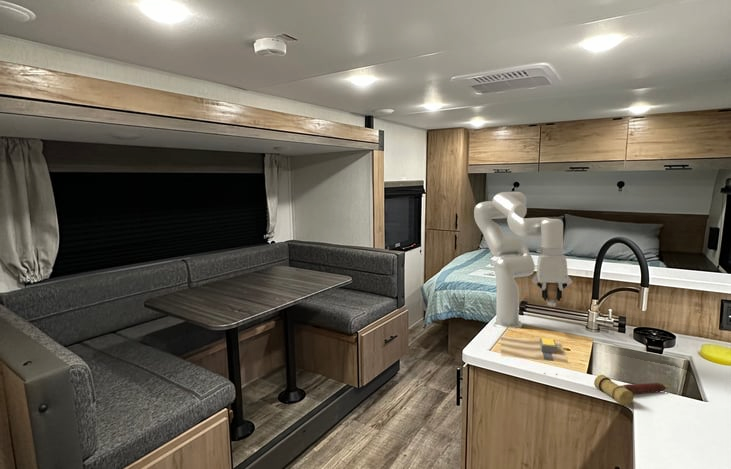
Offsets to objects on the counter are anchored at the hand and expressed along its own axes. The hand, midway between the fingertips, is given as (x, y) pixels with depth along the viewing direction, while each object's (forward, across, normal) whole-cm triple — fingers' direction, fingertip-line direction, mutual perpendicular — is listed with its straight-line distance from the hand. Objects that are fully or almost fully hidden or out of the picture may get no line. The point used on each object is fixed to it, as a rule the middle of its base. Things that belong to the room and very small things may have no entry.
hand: (551, 299), depth 145 cm
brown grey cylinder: (+2, 0, 0) cm, 2 cm away
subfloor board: (+20, -8, -3) cm, 22 cm away
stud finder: (+18, -2, -3) cm, 19 cm away
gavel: (+21, +19, -27) cm, 39 cm away
